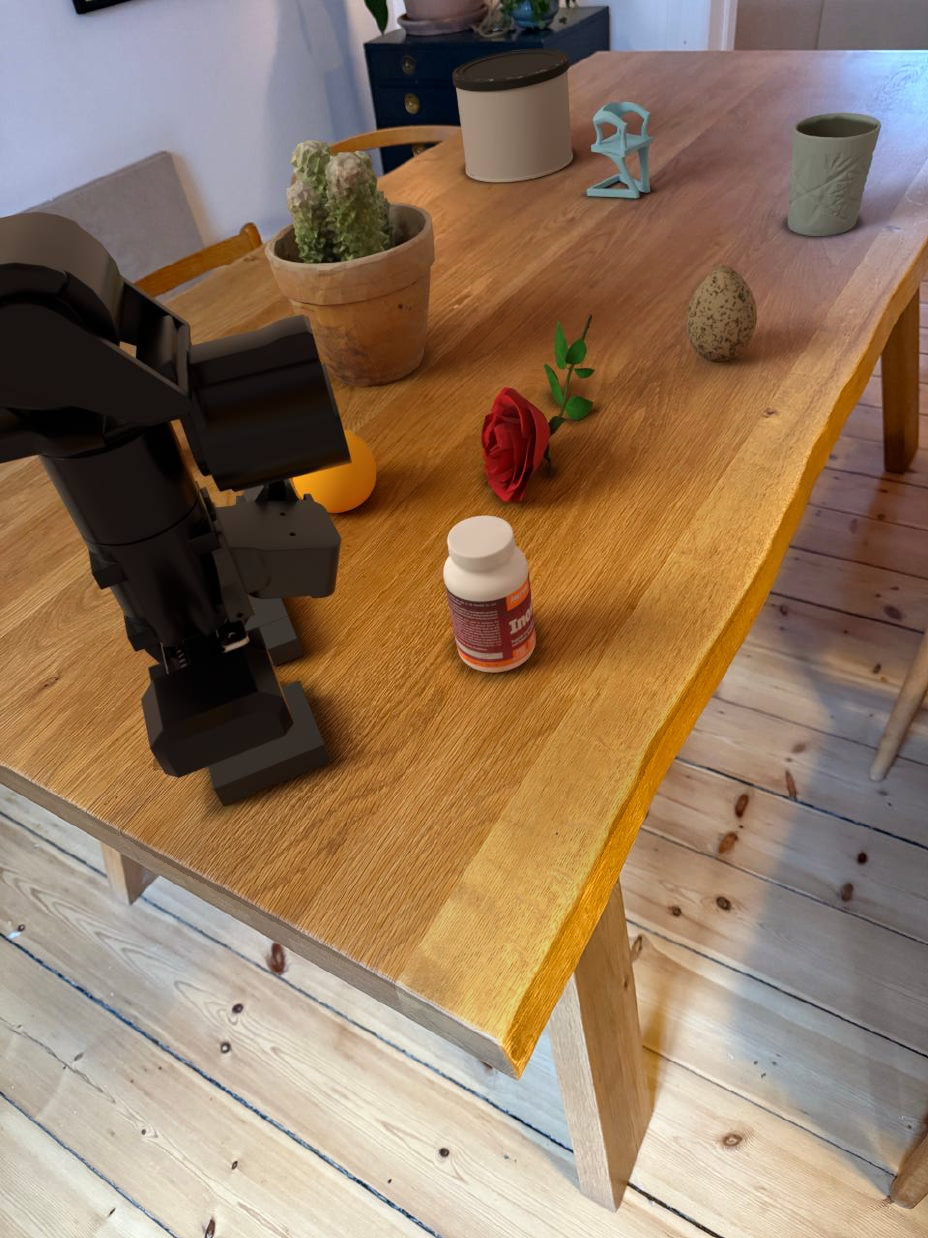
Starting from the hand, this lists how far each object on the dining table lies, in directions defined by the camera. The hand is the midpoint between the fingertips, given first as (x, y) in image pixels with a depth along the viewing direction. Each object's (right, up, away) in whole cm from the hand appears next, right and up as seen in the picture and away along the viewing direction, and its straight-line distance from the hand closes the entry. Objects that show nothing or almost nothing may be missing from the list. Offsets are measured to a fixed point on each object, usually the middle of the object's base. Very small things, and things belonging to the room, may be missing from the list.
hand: (241, 721), depth 52 cm
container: (+23, +84, +101) cm, 134 cm away
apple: (+1, +17, +35) cm, 39 cm away
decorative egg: (+41, +34, +45) cm, 69 cm away
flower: (+22, +26, +39) cm, 52 cm away
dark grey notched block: (-6, +4, +22) cm, 23 cm away
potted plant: (+3, +37, +55) cm, 66 cm away
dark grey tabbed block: (-2, -3, +14) cm, 14 cm away
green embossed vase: (+61, +58, +66) cm, 107 cm away
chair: (+38, +72, +85) cm, 117 cm away
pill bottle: (+16, +4, +17) cm, 24 cm away
